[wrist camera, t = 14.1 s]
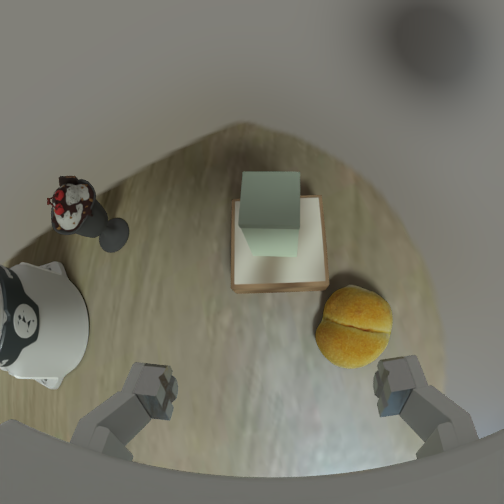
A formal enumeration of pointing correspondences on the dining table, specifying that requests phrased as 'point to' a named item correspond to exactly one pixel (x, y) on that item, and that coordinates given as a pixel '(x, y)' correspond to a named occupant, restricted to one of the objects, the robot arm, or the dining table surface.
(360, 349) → the bread roll
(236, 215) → the wooden square block
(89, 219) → the sundae
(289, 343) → the dining table surface
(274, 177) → the green pillar block
